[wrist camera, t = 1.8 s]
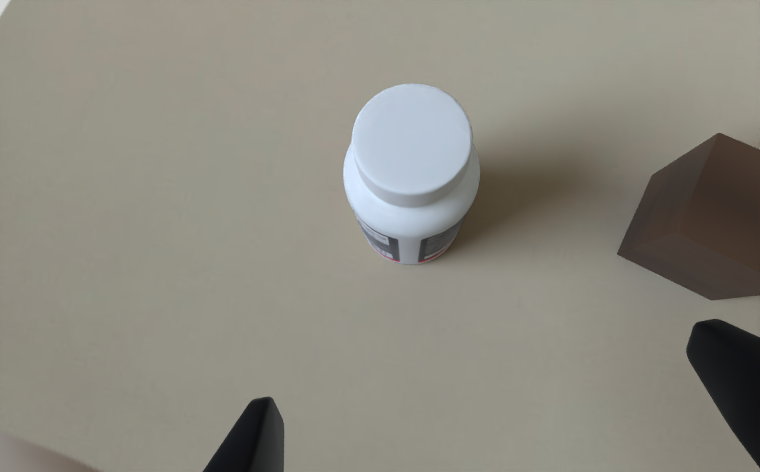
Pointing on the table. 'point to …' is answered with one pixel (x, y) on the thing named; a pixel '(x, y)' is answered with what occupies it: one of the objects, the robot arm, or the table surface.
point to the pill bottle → (411, 172)
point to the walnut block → (702, 221)
